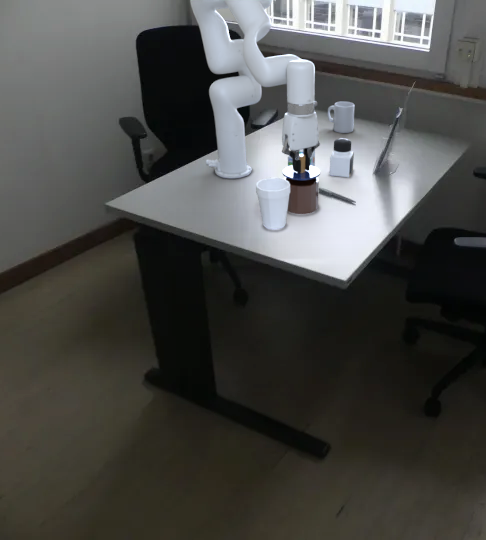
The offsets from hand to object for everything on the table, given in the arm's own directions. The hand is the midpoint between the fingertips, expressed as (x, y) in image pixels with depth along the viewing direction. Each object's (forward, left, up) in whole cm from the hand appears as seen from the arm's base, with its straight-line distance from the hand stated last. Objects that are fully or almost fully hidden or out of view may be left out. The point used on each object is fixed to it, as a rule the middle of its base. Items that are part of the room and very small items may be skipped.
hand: (301, 169), depth 157 cm
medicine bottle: (+14, +28, -13) cm, 34 cm away
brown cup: (0, 0, -13) cm, 13 cm away
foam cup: (-8, -12, -13) cm, 19 cm away
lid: (0, 0, -1) cm, 1 cm away
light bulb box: (0, +19, -13) cm, 23 cm away
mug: (+16, +76, -13) cm, 79 cm away
